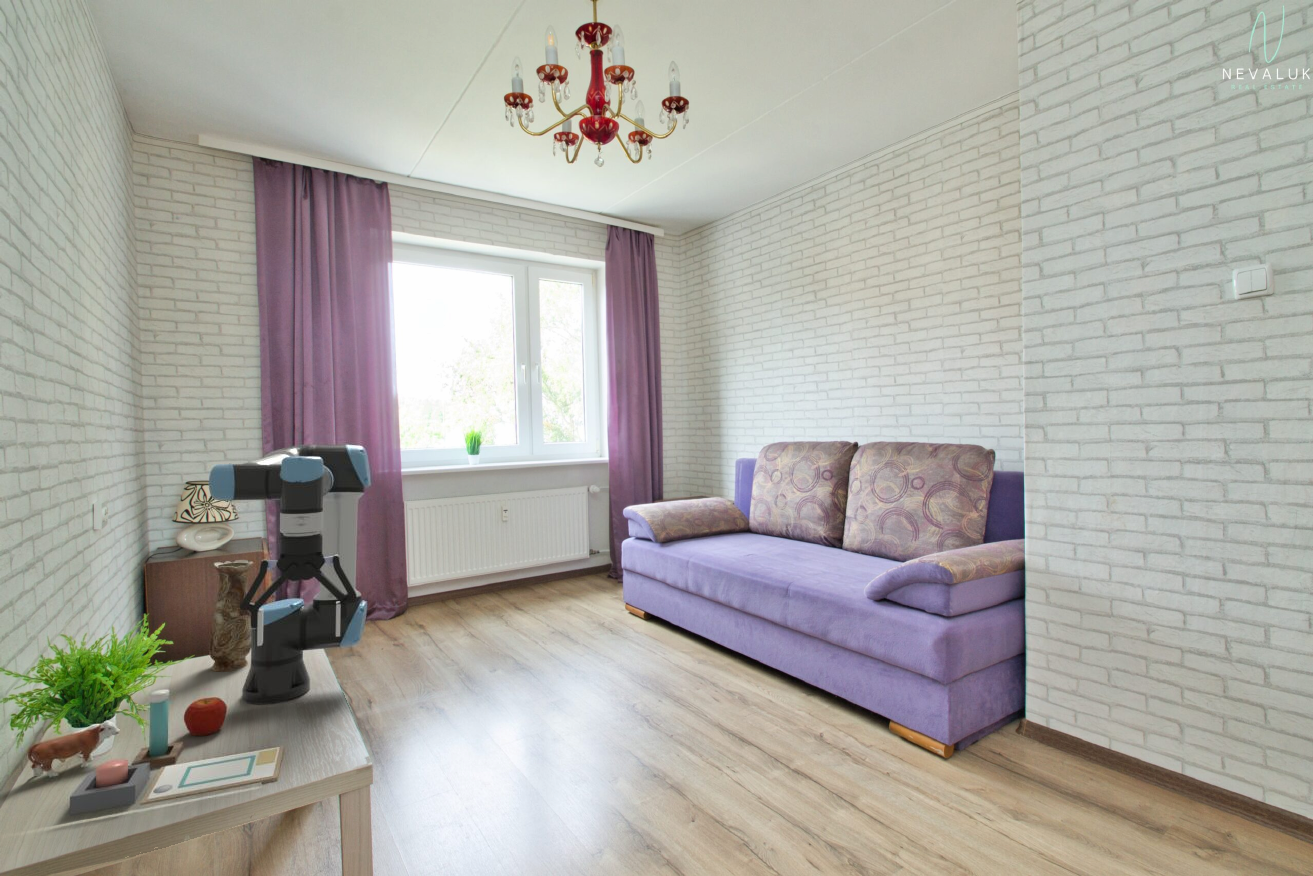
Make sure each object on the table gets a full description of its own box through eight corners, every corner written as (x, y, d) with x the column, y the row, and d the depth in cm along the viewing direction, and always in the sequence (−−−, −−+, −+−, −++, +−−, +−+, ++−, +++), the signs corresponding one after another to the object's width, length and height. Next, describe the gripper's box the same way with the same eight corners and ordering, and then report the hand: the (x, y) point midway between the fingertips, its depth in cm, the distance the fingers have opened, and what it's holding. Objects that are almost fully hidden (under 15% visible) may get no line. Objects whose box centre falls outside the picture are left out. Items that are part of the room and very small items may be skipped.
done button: (100, 778, 117) (101, 762, 117) (130, 773, 118) (131, 757, 119) (91, 790, 113) (92, 773, 113) (123, 784, 115) (123, 768, 115)
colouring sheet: (161, 769, 126) (161, 765, 126) (284, 748, 135) (284, 744, 135) (140, 806, 113) (140, 801, 113) (277, 780, 122) (277, 775, 122)
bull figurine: (120, 760, 129) (121, 720, 129) (27, 786, 119) (28, 743, 119) (116, 753, 132) (117, 714, 132) (25, 778, 122) (26, 735, 122)
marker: (150, 757, 130) (152, 691, 130) (169, 754, 131) (170, 688, 131) (146, 764, 127) (147, 696, 127) (165, 761, 128) (166, 694, 128)
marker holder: (141, 757, 131) (141, 748, 131) (183, 750, 134) (183, 741, 134) (131, 773, 124) (131, 763, 124) (175, 765, 127) (175, 756, 127)
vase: (238, 657, 191) (240, 558, 191) (260, 663, 186) (261, 561, 186) (200, 668, 182) (202, 563, 182) (221, 675, 177) (224, 567, 177)
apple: (189, 745, 136) (190, 708, 136) (178, 734, 141) (179, 699, 141) (231, 732, 142) (232, 697, 142) (219, 722, 147) (219, 688, 147)
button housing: (88, 791, 118) (89, 772, 118) (149, 780, 122) (149, 762, 122) (69, 817, 110) (70, 796, 110) (135, 805, 113) (135, 785, 113)
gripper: (224, 539, 118) (222, 653, 118) (370, 532, 130) (369, 636, 130) (229, 534, 125) (228, 642, 125) (368, 527, 136) (367, 626, 136)
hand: (300, 639), depth 127 cm, fingers open, 13 cm apart
